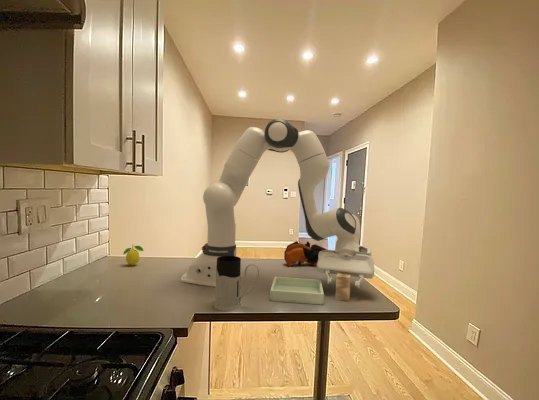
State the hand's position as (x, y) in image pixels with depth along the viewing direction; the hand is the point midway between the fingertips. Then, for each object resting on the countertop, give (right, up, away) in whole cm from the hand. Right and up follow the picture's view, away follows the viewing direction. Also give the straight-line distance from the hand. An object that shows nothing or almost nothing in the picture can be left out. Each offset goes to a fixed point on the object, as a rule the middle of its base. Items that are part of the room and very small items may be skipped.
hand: (343, 285), depth 105 cm
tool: (-7, -3, +43) cm, 44 cm away
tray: (-16, -4, +2) cm, 17 cm away
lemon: (-88, 0, +32) cm, 94 cm away
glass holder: (-36, -4, -10) cm, 38 cm away
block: (0, -5, +1) cm, 5 cm away
